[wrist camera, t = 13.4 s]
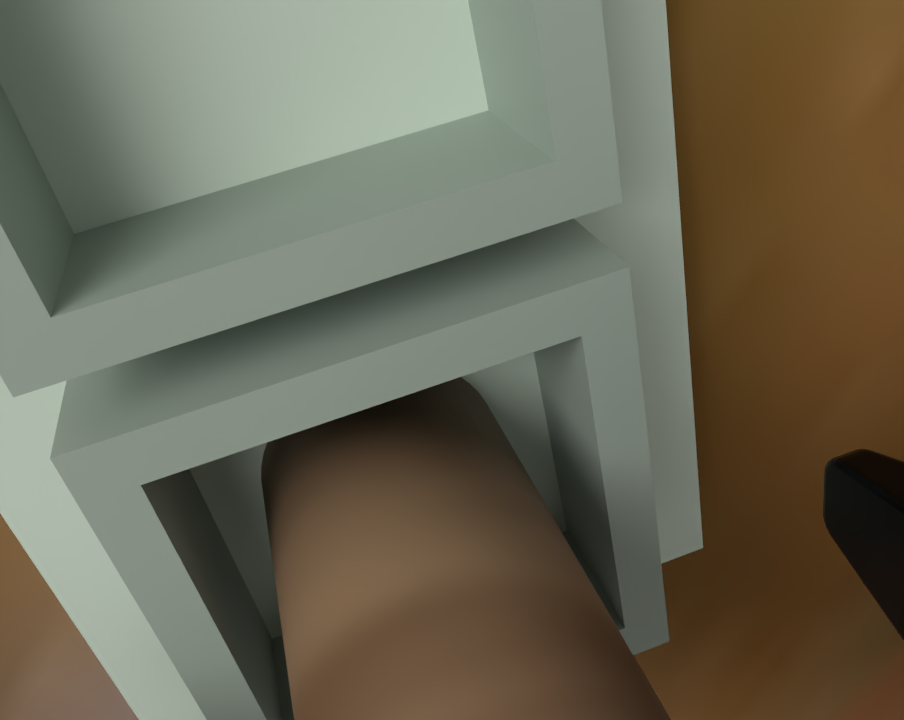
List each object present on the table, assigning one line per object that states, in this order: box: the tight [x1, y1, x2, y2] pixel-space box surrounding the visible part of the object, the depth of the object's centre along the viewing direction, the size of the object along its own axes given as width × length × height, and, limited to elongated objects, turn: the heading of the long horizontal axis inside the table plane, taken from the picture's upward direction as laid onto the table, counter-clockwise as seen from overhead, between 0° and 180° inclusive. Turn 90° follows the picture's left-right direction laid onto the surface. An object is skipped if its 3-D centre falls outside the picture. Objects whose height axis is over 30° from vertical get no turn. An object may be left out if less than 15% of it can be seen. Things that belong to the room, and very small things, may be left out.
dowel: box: [261, 377, 671, 720], centre depth 8 cm, size 3×3×8 cm
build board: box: [0, 0, 703, 720], centre depth 9 cm, size 14×9×3 cm, turn 12°
